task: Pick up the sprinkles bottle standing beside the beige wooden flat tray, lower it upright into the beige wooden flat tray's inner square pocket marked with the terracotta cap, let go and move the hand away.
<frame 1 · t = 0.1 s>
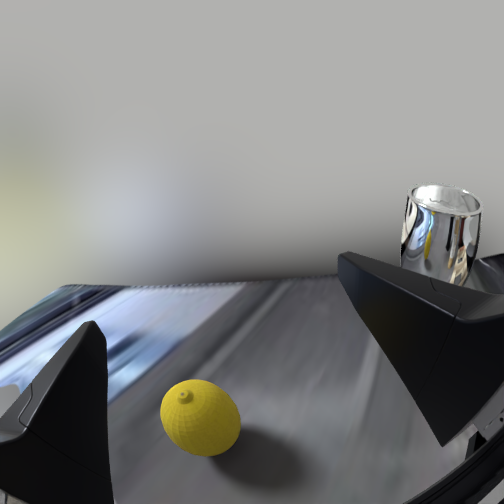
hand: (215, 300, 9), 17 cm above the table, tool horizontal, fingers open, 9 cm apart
beer glass: (416, 335, 25), on the table
lemon: (216, 439, 19), on the table
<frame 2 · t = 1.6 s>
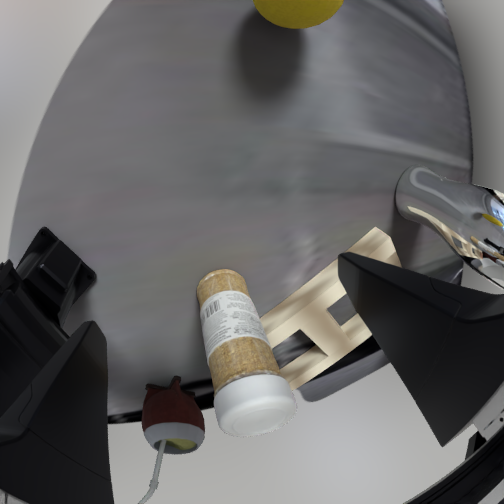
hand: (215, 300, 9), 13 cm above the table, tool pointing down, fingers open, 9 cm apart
mate gourd: (167, 390, 30), on the table
beer glass: (413, 191, 25), on the table
sprinkles bottle: (221, 287, 25), on the table
lemon: (276, 10, 15), on the table
beige wooden flat tray: (317, 320, 30), on the table
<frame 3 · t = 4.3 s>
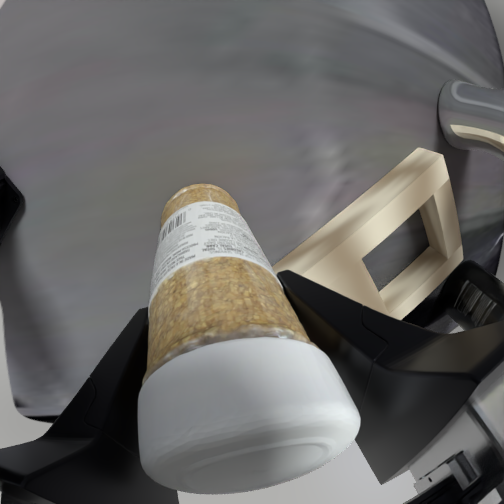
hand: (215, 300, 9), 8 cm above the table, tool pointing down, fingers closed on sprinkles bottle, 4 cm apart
supplement bottle: (456, 283, 26), on the table
beer glass: (456, 113, 16), on the table
sprinkles bottle: (200, 218, 16), on the table, touching gripper
beige wooden flat tray: (345, 284, 21), on the table
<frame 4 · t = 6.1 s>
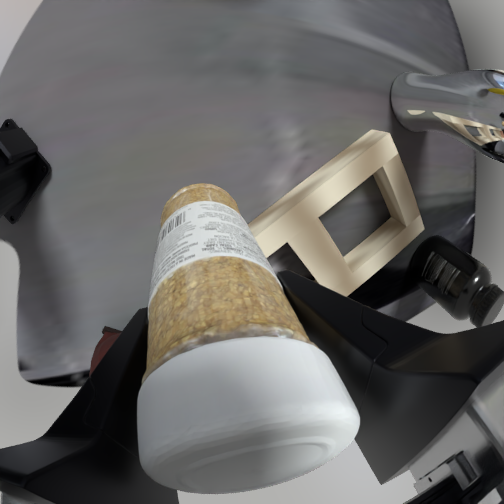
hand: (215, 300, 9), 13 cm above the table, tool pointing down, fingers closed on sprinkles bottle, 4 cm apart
mate gourd: (129, 338, 25), on the table
supplement bottle: (426, 257, 30), on the table
beer glass: (411, 101, 20), on the table
sprinkles bottle: (200, 218, 16), point 5 cm above the table, touching gripper
beige wooden flat tray: (311, 245, 25), on the table
when the fingers open (9 cm above the table, at t = 8.2 s): sprinkles bottle drops 1 cm, resting in beige wooden flat tray.
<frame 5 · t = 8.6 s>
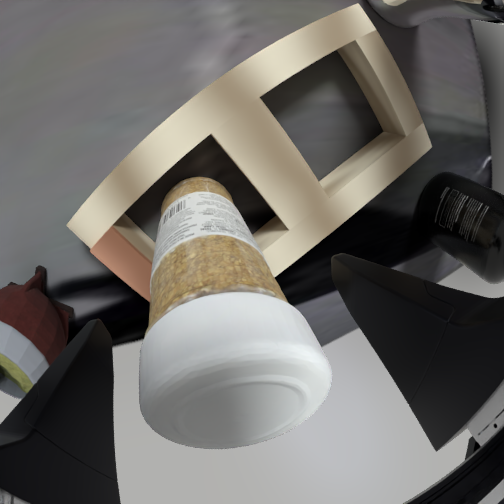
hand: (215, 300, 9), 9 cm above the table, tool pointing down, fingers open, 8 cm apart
mate gourd: (38, 300, 17), on the table
supplement bottle: (437, 204, 22), on the table
sprinkles bottle: (197, 209, 17), resting in beige wooden flat tray
beige wooden flat tray: (263, 159, 16), on the table
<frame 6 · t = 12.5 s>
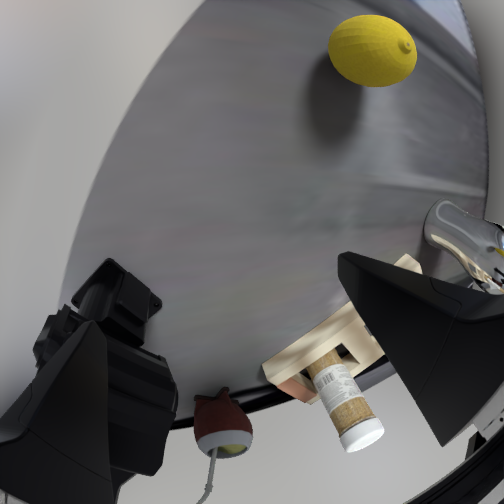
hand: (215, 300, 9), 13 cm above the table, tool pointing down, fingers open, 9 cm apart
mate gourd: (213, 399, 33), on the table
beer glass: (438, 221, 28), on the table
sprinkles bottle: (319, 355, 33), resting in beige wooden flat tray
lemon: (340, 57, 18), on the table
beige wooden flat tray: (352, 333, 32), on the table
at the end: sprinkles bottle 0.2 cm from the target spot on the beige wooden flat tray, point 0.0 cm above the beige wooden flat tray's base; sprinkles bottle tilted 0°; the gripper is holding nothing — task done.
